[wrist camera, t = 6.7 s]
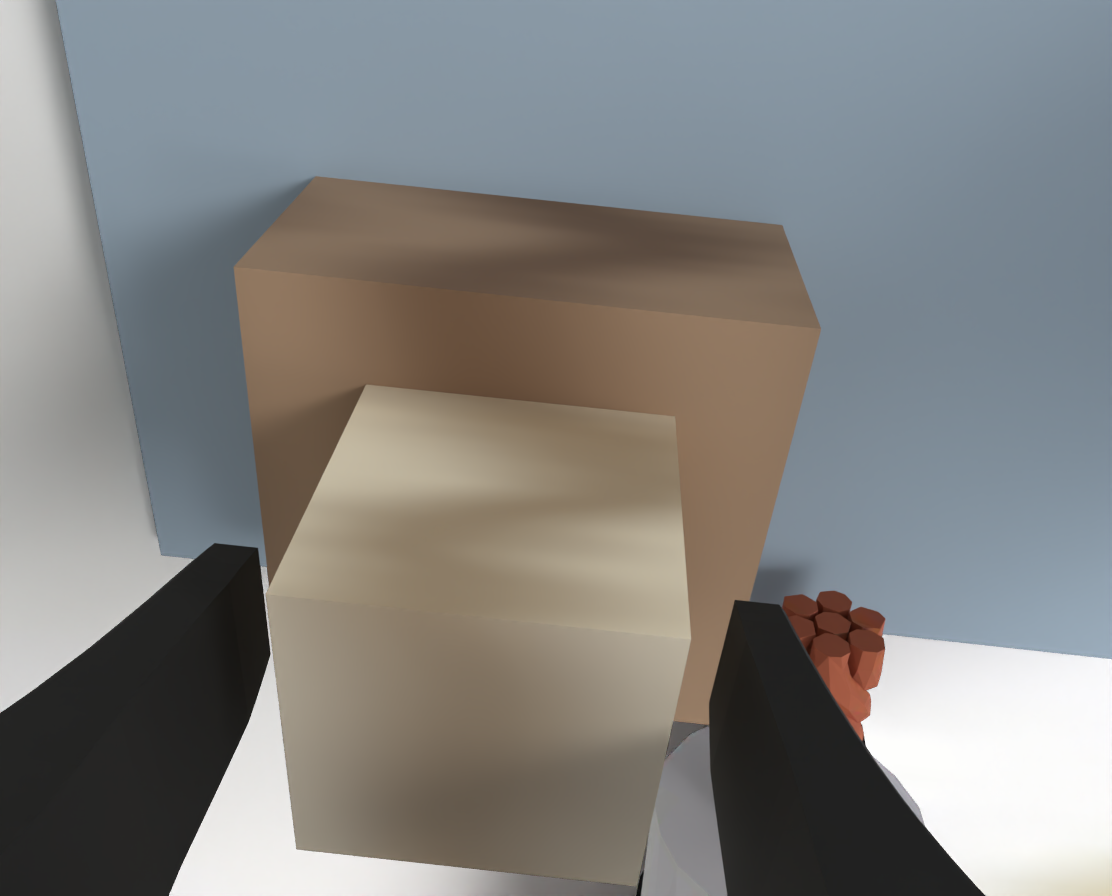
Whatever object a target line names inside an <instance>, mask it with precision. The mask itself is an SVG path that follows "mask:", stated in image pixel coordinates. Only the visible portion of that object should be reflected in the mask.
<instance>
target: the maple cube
mask: <svg viewBox="0 0 1112 896" xmlns="http://www.w3.org/2000/svg"><path fill="white" fill-rule="evenodd" d="M266 601H267V609H268V618H269V626H270V634H271V643H272V651H273V659H274V667H275V676H276V684H277V692H278V701H279V709H280V717H281V726H282V734H283V742H284V751H285V759H286V767H287V775H288V784H289V792H290V800H291V809H292V817H293V825H294V834H295V842H296V849H298V850H307V851H316V852H325V853H334V854H343V855H353V856H362V857H371V858H380V859H389V860H398V861H407V862H416V863H425V864H435V865H444V866H453V867H462V868H471V869H480V870H489V871H498V872H507V873H517V874H526V875H535V876H544V877H553V878H562V879H571V880H580V881H589V882H599V883H608V884H617V885H626V886H635V887H637V884H638V880H639V875H640V871H641V866H642V862H643V857H644V853H645V848H646V843H647V839H648V834H649V830H650V825H651V821H652V816H653V811H654V807H655V802H656V798H657V793H658V789H659V784H660V780H661V775H662V770H663V766H664V761H665V757H666V752H667V748H668V743H669V738H670V734H671V729H672V725H673V720H674V716H675V711H676V707H677V702H678V697H679V693H680V688H681V684H682V679H683V675H684V670H685V665H686V661H687V656H688V652H689V647H690V643H691V630H690V616H689V602H688V588H687V574H686V560H685V546H684V532H683V518H682V504H681V490H680V477H679V463H678V449H677V435H676V421H675V416H666V415H656V414H647V413H637V412H627V411H618V410H608V409H598V408H589V407H579V406H569V405H559V404H550V403H540V402H530V401H521V400H511V399H501V398H492V397H482V396H472V395H463V394H453V393H443V392H434V391H424V390H414V389H404V388H395V387H385V386H375V385H366V386H365V388H364V390H363V392H362V394H361V396H360V398H359V400H358V402H357V404H356V407H355V409H354V411H353V413H352V415H351V417H350V419H349V421H348V423H347V425H346V427H345V430H344V432H343V434H342V436H341V438H340V440H339V442H338V444H337V446H336V448H335V450H334V453H333V455H332V457H331V459H330V461H329V463H328V465H327V467H326V469H325V471H324V473H323V475H322V478H321V480H320V482H319V484H318V486H317V488H316V490H315V492H314V494H313V496H312V498H311V501H310V503H309V505H308V507H307V509H306V511H305V513H304V515H303V517H302V519H301V521H300V524H299V526H298V528H297V530H296V532H295V534H294V536H293V538H292V540H291V542H290V544H289V547H288V549H287V551H286V553H285V555H284V557H283V559H282V561H281V563H280V565H279V567H278V570H277V572H276V574H275V576H274V578H273V580H272V582H271V584H270V586H269V588H268V590H267V593H266Z"/></svg>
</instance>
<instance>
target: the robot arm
mask: <svg viewBox="0 0 1112 896" xmlns="http://www.w3.org/2000/svg"><path fill="white" fill-rule="evenodd" d="M269 657H270V646H269V637H268V629H267V620H266V611H265V603H264V594H263V586H262V577H261V568H260V560H259V551H258V548H256V547H247V546H237V545H228V544H219V543H214V544H213V545H211V546H210V547H209V548H207V549H206V550H205V551H204V552H203V553H201V554H200V555H199V556H198V557H197V558H195V559H194V560H193V561H192V562H191V563H190V564H188V565H187V566H186V567H185V568H184V569H183V570H182V571H180V572H179V573H178V574H177V575H176V576H175V577H173V578H172V579H171V580H170V581H169V582H168V583H167V584H165V585H164V586H163V587H162V588H161V589H160V590H158V591H157V592H156V593H155V594H154V595H153V596H151V597H150V598H149V599H148V600H147V601H146V602H144V603H143V604H142V605H141V606H140V607H139V608H137V609H136V610H135V611H134V612H133V613H131V614H130V615H129V616H128V617H126V618H125V619H124V620H123V621H122V622H120V623H119V624H118V625H117V626H116V627H114V628H113V629H112V630H111V631H109V632H108V633H107V634H106V635H105V636H103V637H102V638H101V639H100V640H98V641H97V642H96V643H95V644H94V645H92V646H91V647H90V648H88V649H87V650H86V651H85V652H83V653H82V654H81V655H79V656H78V657H77V658H75V659H74V660H73V661H71V662H70V663H69V664H67V665H66V666H65V667H63V668H62V669H61V670H59V671H58V672H57V673H55V674H54V675H53V676H51V677H50V678H49V679H47V680H46V681H45V682H43V683H42V684H41V685H39V686H38V687H37V688H35V689H34V690H33V691H31V692H30V693H29V694H27V695H26V696H24V697H23V698H21V699H20V700H19V701H17V702H16V703H14V704H13V705H11V706H10V707H8V708H7V709H6V710H4V711H3V712H1V713H0V896H169V893H170V891H171V889H172V886H173V884H174V882H175V879H176V877H177V875H178V872H179V870H180V867H181V865H182V863H183V861H184V859H185V857H186V855H187V853H188V850H189V848H190V846H191V844H192V842H193V840H194V838H195V836H196V834H197V831H198V829H199V827H200V825H201V823H202V821H203V819H204V817H205V814H206V812H207V810H208V808H209V806H210V804H211V802H212V800H213V797H214V795H215V793H216V791H217V789H218V787H219V785H220V783H221V781H222V778H223V776H224V774H225V772H226V770H227V768H228V766H229V763H230V761H231V759H232V757H233V755H234V753H235V750H236V748H237V746H238V744H239V742H240V740H241V738H242V735H243V733H244V731H245V729H246V726H247V724H248V722H249V719H250V716H251V713H252V710H253V707H254V704H255V702H256V699H257V696H258V693H259V690H260V686H261V683H262V680H263V677H264V673H265V670H266V667H267V664H268V661H269ZM709 742H710V773H711V781H712V789H713V796H714V804H715V811H716V818H717V826H718V833H719V840H720V847H721V854H722V861H723V868H724V875H725V882H726V889H727V896H985V895H984V894H983V893H982V892H981V891H980V890H979V889H978V888H977V886H976V885H975V884H974V883H973V882H972V881H971V880H970V879H969V877H968V876H967V875H966V874H965V873H964V872H963V871H962V870H961V868H960V867H959V866H958V865H957V864H956V863H955V862H954V861H953V859H952V858H951V857H950V856H949V855H948V854H947V852H946V851H945V850H944V849H943V848H942V846H941V845H940V844H939V843H938V842H937V840H936V839H935V838H934V837H933V836H932V834H931V833H930V832H929V831H928V830H927V828H926V827H925V826H924V825H923V824H922V822H921V821H920V820H919V818H918V817H917V816H916V815H915V813H914V812H913V811H912V810H911V808H910V807H909V806H908V804H907V803H906V802H905V800H904V799H903V798H902V797H901V795H900V794H899V793H898V791H897V790H896V788H895V787H894V786H893V784H892V783H891V782H890V780H889V779H888V777H887V776H886V775H885V773H884V772H883V771H882V769H881V768H880V766H879V765H878V764H877V762H876V761H875V759H874V758H873V756H872V755H871V754H870V752H869V751H868V749H867V748H866V746H865V745H864V743H863V742H862V740H861V739H860V737H859V736H858V734H857V733H856V731H855V730H854V728H853V726H852V725H851V723H850V722H849V720H848V719H847V717H846V716H845V714H844V713H843V711H842V709H841V708H840V706H839V705H838V703H837V702H836V700H835V698H834V697H833V695H832V694H831V692H830V690H829V689H828V687H827V685H826V684H825V682H824V680H823V679H822V677H821V675H820V673H819V672H818V670H817V668H816V667H815V665H814V663H813V661H812V660H811V658H810V656H809V654H808V653H807V651H806V649H805V647H804V646H803V644H802V642H801V640H800V638H799V636H798V635H797V633H796V631H795V629H794V627H793V625H792V623H791V622H790V620H789V618H788V616H787V614H786V612H785V611H784V610H783V608H782V607H781V606H780V605H778V604H769V603H760V602H751V601H742V600H735V601H734V605H733V609H732V613H731V617H730V621H729V625H728V629H727V633H726V637H725V641H724V645H723V649H722V653H721V657H720V661H719V664H718V668H717V672H716V676H715V680H714V684H713V688H712V692H711V696H710V700H709Z"/></svg>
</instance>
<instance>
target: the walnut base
mask: <svg viewBox="0 0 1112 896" xmlns="http://www.w3.org/2000/svg"><path fill="white" fill-rule="evenodd" d="M234 275H235V284H236V293H237V302H238V311H239V320H240V329H241V338H242V347H243V356H244V365H245V374H246V383H247V392H248V401H249V410H250V419H251V428H252V437H253V446H254V455H255V464H256V473H257V482H258V491H259V500H260V509H261V518H262V527H263V536H264V545H265V554H266V563H267V572H268V581H269V586H270V584H271V582H272V580H273V578H274V576H275V574H276V572H277V570H278V567H279V565H280V563H281V561H282V559H283V557H284V555H285V553H286V551H287V549H288V547H289V544H290V542H291V540H292V538H293V536H294V534H295V532H296V530H297V528H298V526H299V524H300V521H301V519H302V517H303V515H304V513H305V511H306V509H307V507H308V505H309V503H310V501H311V498H312V496H313V494H314V492H315V490H316V488H317V486H318V484H319V482H320V480H321V478H322V475H323V473H324V471H325V469H326V467H327V465H328V463H329V461H330V459H331V457H332V455H333V453H334V450H335V448H336V446H337V444H338V442H339V440H340V438H341V436H342V434H343V432H344V430H345V427H346V425H347V423H348V421H349V419H350V417H351V415H352V413H353V411H354V409H355V407H356V404H357V402H358V400H359V398H360V396H361V394H362V392H363V390H364V388H365V386H366V385H375V386H385V387H395V388H404V389H414V390H424V391H434V392H443V393H453V394H463V395H472V396H482V397H492V398H501V399H511V400H521V401H530V402H540V403H550V404H559V405H569V406H579V407H589V408H598V409H608V410H618V411H627V412H637V413H647V414H656V415H666V416H675V421H676V435H677V449H678V463H679V477H680V490H681V504H682V518H683V532H684V546H685V560H686V574H687V588H688V602H689V616H690V630H691V643H690V647H689V652H688V656H687V661H686V665H685V670H684V675H683V679H682V684H681V688H680V693H679V697H678V702H677V707H676V711H675V716H674V720H673V721H678V722H687V723H696V724H705V725H709V700H710V696H711V692H712V688H713V684H714V680H715V676H716V672H717V668H718V664H719V661H720V657H721V653H722V649H723V645H724V641H725V637H726V633H727V629H728V625H729V621H730V617H731V613H732V609H733V605H734V601H735V600H742V601H750V597H751V593H752V589H753V585H754V582H755V578H756V574H757V570H758V566H759V563H760V559H761V555H762V551H763V548H764V544H765V540H766V536H767V532H768V529H769V525H770V521H771V517H772V514H773V510H774V506H775V502H776V498H777V495H778V491H779V487H780V483H781V479H782V476H783V472H784V468H785V464H786V461H787V457H788V453H789V449H790V445H791V442H792V438H793V434H794V430H795V426H796V423H797V419H798V415H799V411H800V408H801V404H802V400H803V396H804V392H805V389H806V385H807V381H808V377H809V374H810V370H811V366H812V362H813V358H814V355H815V351H816V347H817V343H818V339H819V336H820V332H821V327H820V324H819V322H818V319H817V316H816V314H815V311H814V308H813V306H812V303H811V300H810V298H809V295H808V292H807V290H806V287H805V284H804V282H803V279H802V276H801V274H800V271H799V268H798V266H797V263H796V260H795V258H794V255H793V252H792V250H791V247H790V244H789V242H788V239H787V236H786V234H785V231H784V228H783V226H782V225H777V224H767V223H758V222H748V221H739V220H729V219H720V218H710V217H701V216H691V215H681V214H672V213H662V212H653V211H643V210H634V209H624V208H615V207H605V206H596V205H586V204H577V203H567V202H557V201H548V200H538V199H529V198H519V197H510V196H500V195H491V194H481V193H472V192H462V191H452V190H443V189H433V188H424V187H414V186H405V185H395V184H386V183H376V182H367V181H357V180H347V179H338V178H328V177H319V176H316V177H315V178H314V179H313V180H312V181H311V182H310V183H309V184H308V185H307V186H306V188H305V189H304V190H303V191H302V192H301V193H300V194H299V195H298V196H297V197H296V199H295V200H294V201H293V202H292V203H291V204H290V205H289V206H288V207H287V209H286V210H285V211H284V212H283V213H282V214H281V215H280V216H279V217H278V218H277V220H276V221H275V222H274V223H273V224H272V225H271V226H270V227H269V228H268V229H267V231H266V232H265V233H264V234H263V235H262V236H261V237H260V238H259V239H258V240H257V242H256V243H255V244H254V245H253V246H252V247H251V248H250V249H249V250H248V251H247V253H246V254H245V255H244V256H243V257H242V258H241V259H240V260H239V261H238V262H237V264H236V265H235V266H234Z"/></svg>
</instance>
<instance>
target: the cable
mask: <svg viewBox="0 0 1112 896" xmlns="http://www.w3.org/2000/svg"><path fill="white" fill-rule="evenodd" d="M851 605H852V601H851V600H850V599H849V598H848V597H847V596H846V595H845V594H843V593H840V592H837V591H823V592H820V593H819V595H818V597H817V599H816V601H814V600H812V599H810V598H809V597H807V596H805V595H803V594H799V595H792V596H784V601H783V606H782V608H783V610H784V611H785V612H786V614H787V616H788V618H789V620H790V622H791V623H792V625H793V627H794V629H795V631H796V633H797V635H798V636H799V638H800V640H801V642H802V644H803V646H804V647H805V649H806V651H807V653H808V654H809V656H810V658H811V660H812V661H813V663H814V665H815V667H816V668H817V670H818V672H819V673H820V675H821V677H822V679H823V680H824V682H825V684H826V685H827V687H828V689H829V690H830V692H831V694H832V695H833V697H834V698H835V700H836V702H837V703H838V705H839V706H840V708H841V709H842V711H843V713H844V714H845V716H846V717H847V719H848V720H849V722H850V723H851V725H852V726H853V728H854V730H855V731H856V733H857V734H858V736H859V737H860V739H861V740H862V742H863V743H864V745H865V740H864V732H863V728H862V725H861V721H863V720H864V719H865V718H867V717H868V716H870V709H871V698H870V694H869V693H868V692H867V691H866V690H868V689H871V688H874V687H876V686H877V685H878V682H879V679H880V676H881V671H882V664H883V658H884V652H885V646H884V639H883V638H882V634H883V629H884V624H885V619H886V618H884V617H883V616H882V615H881V614H880V613H879V612H877V611H874V610H871V609H867V608H864V607H859V608H856V609H854V610H852V611H850V610H851ZM873 758H874V757H873ZM874 759H875V758H874ZM875 761H876V762H877V764H878V765H879V766H880V768H881V769H882V771H883V772H884V773H885V775H886V776H887V777H888V779H889V780H890V782H891V783H892V784H893V786H894V787H895V788H896V790H897V791H898V793H899V794H900V795H901V797H902V798H903V799H904V800H905V802H906V803H907V804H908V806H909V807H910V808H911V810H912V811H913V812H914V813H915V815H916V816H917V817H918V818H919V820H920V821H921V822H922V824H923V825H924V822H923V818H922V815H921V812H920V809H919V807H918V805H917V804H916V803H915V801H914V800H913V799H912V797H911V796H910V795H909V793H908V792H907V791H906V790H905V788H904V787H903V786H902V784H901V783H900V782H899V780H898V779H897V778H896V776H895V775H893V774H892V773H891V772H890V771H889V770H888V769H886V768H885V767H884V766H883V765H882V764H881V763H880V762H878V761H877V760H876V759H875ZM924 826H925V825H924ZM636 896H727V889H726V882H725V875H724V868H723V861H722V854H721V847H720V840H719V833H718V826H717V818H716V811H715V804H714V796H713V789H712V781H711V773H710V742H709V726H708V727H705V728H703V729H701V730H698V731H696V732H694V733H692V734H690V735H689V736H688V737H687V738H686V739H685V740H684V741H683V742H682V743H681V744H680V745H679V746H678V747H677V748H676V749H675V750H674V751H673V752H672V753H671V754H670V755H669V756H668V757H667V758H666V759H665V761H664V766H663V770H662V775H661V780H660V784H659V789H658V793H657V798H656V802H655V807H654V811H653V816H652V821H651V825H650V830H649V836H648V844H647V852H646V860H645V867H644V871H643V872H642V874H641V876H640V880H639V884H638V889H637V894H636Z"/></svg>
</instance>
